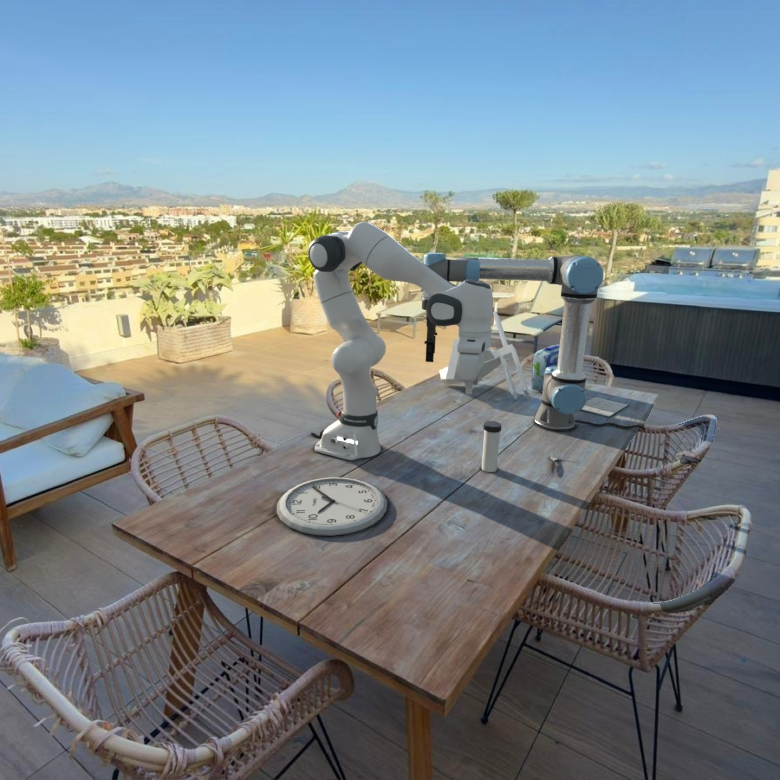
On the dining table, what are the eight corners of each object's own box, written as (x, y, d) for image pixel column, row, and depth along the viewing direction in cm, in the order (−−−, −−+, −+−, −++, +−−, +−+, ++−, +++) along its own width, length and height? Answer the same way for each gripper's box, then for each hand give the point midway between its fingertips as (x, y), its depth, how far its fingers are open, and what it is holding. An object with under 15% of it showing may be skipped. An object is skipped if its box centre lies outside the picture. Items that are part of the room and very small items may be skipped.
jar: (499, 468, 166) (503, 425, 162) (491, 473, 163) (495, 429, 158) (486, 464, 169) (489, 421, 165) (478, 469, 166) (482, 425, 161)
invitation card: (608, 416, 214) (573, 407, 224) (608, 416, 214) (573, 408, 224) (628, 404, 229) (594, 396, 238) (628, 405, 229) (594, 397, 238)
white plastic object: (461, 429, 252) (437, 405, 227) (444, 352, 274) (420, 323, 250) (535, 404, 240) (518, 377, 215) (510, 326, 262) (492, 293, 237)
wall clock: (392, 527, 129) (268, 531, 127) (391, 533, 130) (269, 537, 127) (383, 473, 158) (282, 475, 155) (383, 478, 158) (282, 480, 156)
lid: (504, 429, 162) (504, 423, 162) (495, 434, 158) (496, 428, 158) (489, 424, 166) (489, 419, 165) (480, 429, 162) (480, 424, 161)
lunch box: (547, 397, 237) (552, 352, 231) (526, 391, 245) (531, 348, 238) (574, 386, 255) (580, 344, 249) (554, 381, 262) (559, 340, 256)
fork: (547, 473, 163) (548, 467, 163) (550, 454, 177) (551, 448, 177) (556, 475, 162) (556, 469, 162) (558, 455, 177) (559, 449, 176)
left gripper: (469, 333, 154) (466, 378, 158) (456, 347, 135) (453, 398, 139) (490, 334, 152) (487, 380, 156) (480, 349, 133) (477, 400, 137)
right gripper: (424, 293, 195) (422, 349, 202) (419, 302, 172) (417, 365, 178) (444, 294, 195) (441, 350, 201) (442, 303, 171) (439, 366, 177)
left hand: (471, 388), depth 147 cm, fingers open, 8 cm apart
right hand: (430, 357), depth 190 cm, fingers open, 13 cm apart
